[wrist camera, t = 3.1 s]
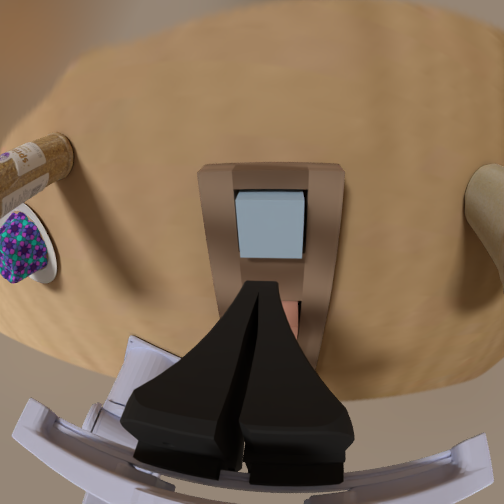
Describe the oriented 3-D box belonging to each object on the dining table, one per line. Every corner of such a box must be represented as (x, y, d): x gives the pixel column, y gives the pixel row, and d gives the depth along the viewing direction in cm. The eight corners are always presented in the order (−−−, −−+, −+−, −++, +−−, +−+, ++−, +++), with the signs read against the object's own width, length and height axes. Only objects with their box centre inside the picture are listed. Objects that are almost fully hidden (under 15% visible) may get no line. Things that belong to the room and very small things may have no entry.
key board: (309, 377, 30) (310, 391, 28) (236, 374, 31) (234, 387, 30) (338, 163, 17) (344, 171, 15) (205, 164, 18) (196, 172, 16)
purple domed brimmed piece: (48, 293, 29) (28, 318, 25) (-2, 234, 25) (-25, 254, 21) (72, 248, 24) (43, 277, 20) (11, 175, 20) (-21, 194, 15)
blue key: (300, 236, 20) (301, 258, 17) (246, 235, 20) (240, 257, 18) (301, 184, 18) (304, 200, 15) (242, 184, 18) (235, 200, 16)
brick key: (294, 332, 23) (294, 358, 21) (250, 331, 24) (246, 356, 22) (297, 300, 21) (298, 327, 19) (247, 298, 22) (242, 325, 19)
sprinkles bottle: (69, 125, 17) (-66, 189, 5) (80, 174, 19) (-40, 263, 8) (39, 138, 17) (-76, 202, 6) (49, 182, 20) (-55, 261, 8)
